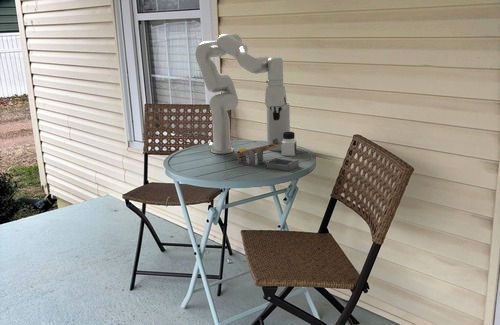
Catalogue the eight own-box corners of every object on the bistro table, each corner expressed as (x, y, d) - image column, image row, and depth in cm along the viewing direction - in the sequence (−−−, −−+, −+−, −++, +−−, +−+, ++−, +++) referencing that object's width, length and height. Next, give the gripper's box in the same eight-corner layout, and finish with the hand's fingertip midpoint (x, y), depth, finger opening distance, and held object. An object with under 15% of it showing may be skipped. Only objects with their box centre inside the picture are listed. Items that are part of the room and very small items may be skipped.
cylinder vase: (294, 147, 286) (294, 103, 279) (280, 152, 277) (279, 106, 270) (276, 145, 294) (276, 101, 287) (262, 149, 285) (261, 104, 278)
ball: (238, 155, 259) (237, 148, 259) (242, 153, 262) (241, 147, 261) (244, 154, 257) (242, 147, 257) (248, 153, 260) (246, 146, 259)
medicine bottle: (294, 155, 269) (294, 133, 266) (281, 155, 270) (281, 133, 267) (296, 152, 275) (296, 130, 272) (283, 152, 277) (283, 130, 274)
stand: (235, 163, 258) (234, 149, 256) (245, 159, 265) (244, 145, 263) (255, 166, 252) (255, 152, 250) (265, 161, 259) (264, 148, 257)
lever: (237, 157, 258) (235, 150, 258) (253, 151, 271) (251, 144, 271) (269, 149, 247) (267, 142, 246) (285, 143, 259) (282, 136, 259)
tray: (266, 167, 248) (266, 161, 247) (276, 163, 256) (276, 156, 255) (288, 171, 241) (288, 164, 240) (298, 166, 249) (298, 159, 248)
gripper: (258, 83, 252) (259, 120, 257) (285, 84, 244) (285, 122, 249) (266, 82, 258) (267, 117, 263) (292, 82, 250) (293, 119, 255)
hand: (276, 119), depth 256 cm, fingers closed
